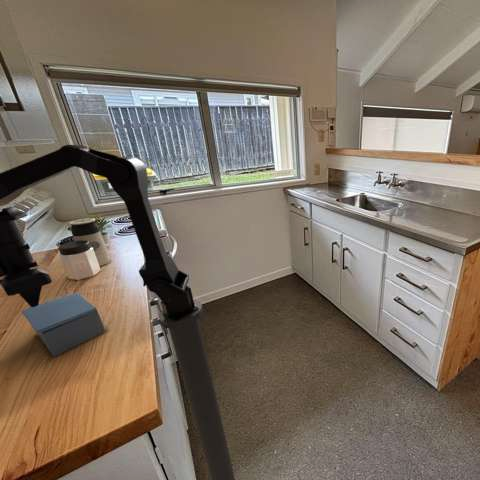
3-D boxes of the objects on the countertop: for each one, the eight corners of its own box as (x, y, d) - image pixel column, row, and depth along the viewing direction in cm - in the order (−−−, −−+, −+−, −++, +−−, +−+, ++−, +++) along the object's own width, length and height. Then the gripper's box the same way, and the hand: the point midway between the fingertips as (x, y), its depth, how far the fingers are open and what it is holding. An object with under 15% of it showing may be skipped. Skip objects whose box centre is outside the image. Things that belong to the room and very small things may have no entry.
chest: (53, 356, 57) (42, 334, 55) (37, 334, 64) (26, 313, 62) (105, 331, 65) (97, 310, 62) (85, 313, 72) (77, 294, 69)
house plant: (103, 254, 111) (91, 218, 105) (72, 254, 112) (58, 218, 106) (127, 242, 125) (117, 209, 119) (100, 242, 125) (88, 210, 119)
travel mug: (85, 263, 103) (69, 220, 97) (110, 258, 108) (96, 216, 101) (84, 270, 97) (66, 225, 91) (110, 264, 102) (95, 221, 95)
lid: (37, 334, 54) (36, 331, 54) (22, 313, 61) (21, 310, 61) (97, 310, 62) (96, 307, 62) (77, 294, 69) (76, 291, 69)
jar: (69, 282, 88) (55, 251, 84) (68, 274, 94) (56, 244, 90) (102, 274, 94) (91, 243, 90) (99, 267, 100) (89, 238, 95)
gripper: (-67, 245, 51) (-29, 311, 57) (-61, 267, 42) (-15, 344, 47) (15, 230, 60) (42, 288, 65) (36, 245, 50) (65, 312, 56)
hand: (34, 305), depth 58 cm, fingers closed
